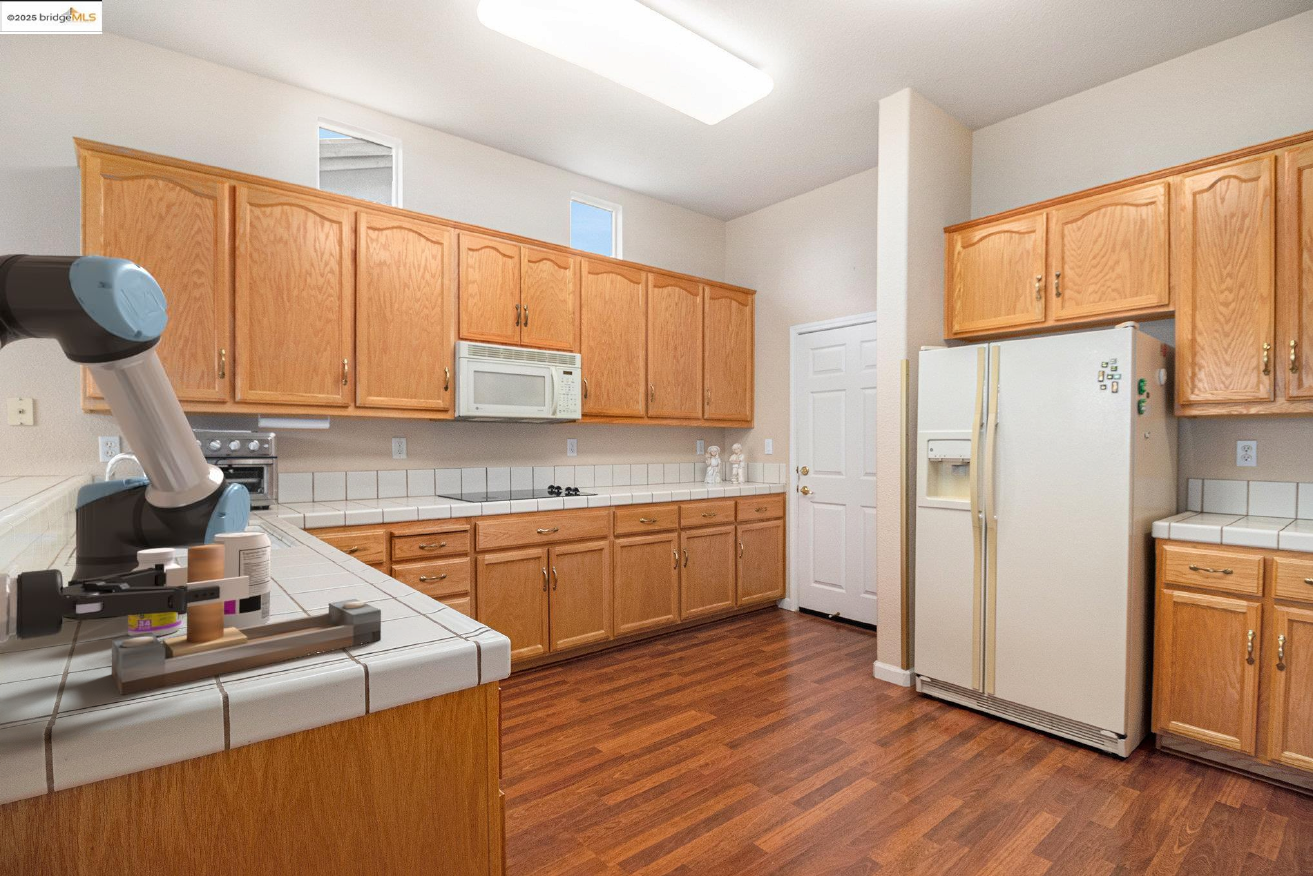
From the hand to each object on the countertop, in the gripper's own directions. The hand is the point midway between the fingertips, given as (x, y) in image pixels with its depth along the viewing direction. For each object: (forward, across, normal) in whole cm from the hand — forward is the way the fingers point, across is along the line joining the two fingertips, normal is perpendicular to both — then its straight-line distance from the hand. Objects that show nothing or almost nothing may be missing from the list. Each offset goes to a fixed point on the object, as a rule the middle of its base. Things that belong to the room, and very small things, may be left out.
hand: (235, 579), depth 87 cm
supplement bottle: (-5, -24, -11) cm, 27 cm away
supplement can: (+5, -18, -11) cm, 22 cm away
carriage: (-3, 0, -9) cm, 10 cm away
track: (+3, 0, -11) cm, 11 cm away
